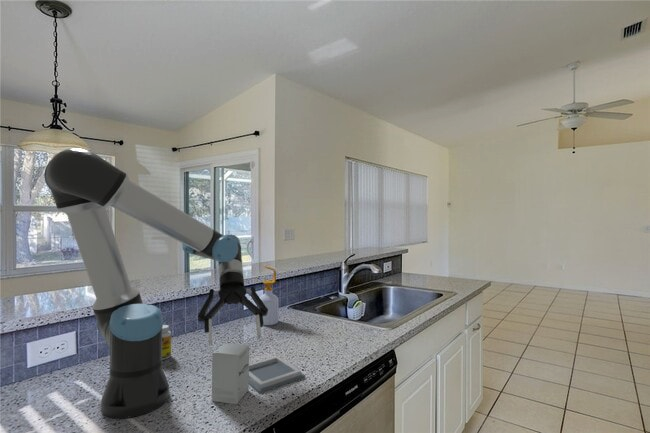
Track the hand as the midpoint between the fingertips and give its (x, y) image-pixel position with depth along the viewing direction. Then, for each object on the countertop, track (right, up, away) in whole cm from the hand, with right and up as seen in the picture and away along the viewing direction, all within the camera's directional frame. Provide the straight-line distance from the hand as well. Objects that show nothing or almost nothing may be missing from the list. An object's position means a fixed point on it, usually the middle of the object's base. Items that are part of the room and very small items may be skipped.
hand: (235, 340), depth 99 cm
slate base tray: (+9, -12, +5) cm, 16 cm away
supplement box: (+1, -12, -7) cm, 14 cm away
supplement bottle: (-28, -11, +16) cm, 34 cm away
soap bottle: (+1, -11, +53) cm, 54 cm away
